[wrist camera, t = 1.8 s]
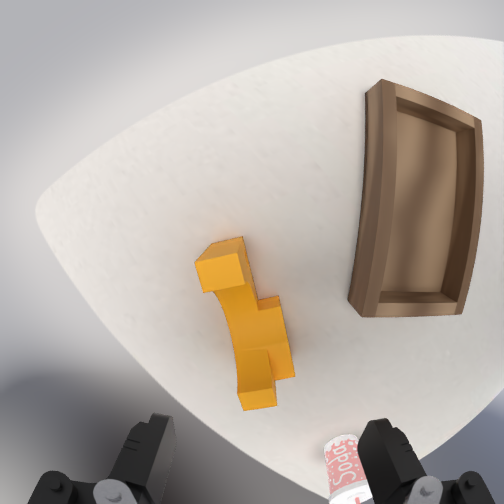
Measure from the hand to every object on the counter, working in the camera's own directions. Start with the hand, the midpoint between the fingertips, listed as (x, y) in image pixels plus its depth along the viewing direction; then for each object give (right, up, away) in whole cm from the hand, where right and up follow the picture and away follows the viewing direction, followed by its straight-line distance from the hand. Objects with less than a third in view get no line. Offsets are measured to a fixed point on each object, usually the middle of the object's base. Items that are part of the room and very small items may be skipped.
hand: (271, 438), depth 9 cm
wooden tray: (+14, +12, +12) cm, 22 cm away
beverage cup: (+11, -17, +18) cm, 28 cm away
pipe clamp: (-1, +3, +14) cm, 15 cm away
